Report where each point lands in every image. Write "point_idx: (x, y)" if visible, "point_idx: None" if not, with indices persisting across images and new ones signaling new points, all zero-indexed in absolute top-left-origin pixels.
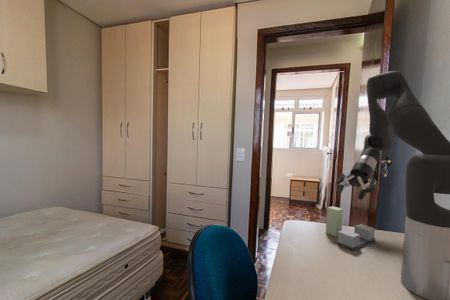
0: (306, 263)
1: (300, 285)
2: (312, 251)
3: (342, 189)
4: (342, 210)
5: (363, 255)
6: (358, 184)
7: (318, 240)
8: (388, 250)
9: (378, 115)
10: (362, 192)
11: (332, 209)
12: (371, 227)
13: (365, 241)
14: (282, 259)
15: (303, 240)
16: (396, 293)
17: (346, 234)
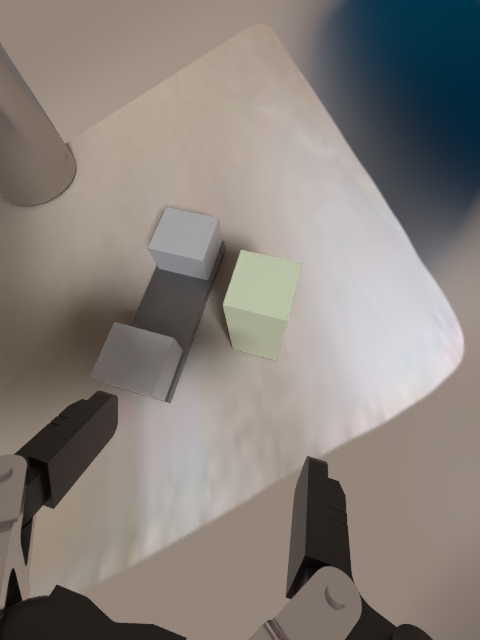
0: (256, 111)
1: (237, 55)
2: (267, 164)
3: (291, 566)
4: (225, 303)
5: (148, 236)
6: (45, 598)
7: (281, 237)
8: (75, 331)
9: None
10: (53, 441)
11: (270, 257)
12: (104, 378)
13: (141, 313)
14: (303, 93)
15: (316, 204)
16: (91, 131)
17: (189, 214)
